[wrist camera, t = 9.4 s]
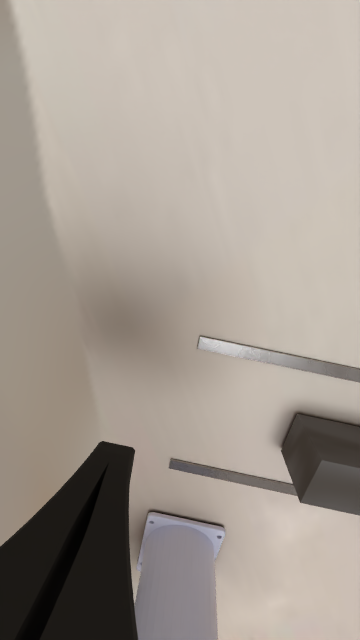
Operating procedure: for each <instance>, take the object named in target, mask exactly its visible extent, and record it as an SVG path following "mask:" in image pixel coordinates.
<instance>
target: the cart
mask: <svg viewBox="0 0 360 640" xmlns="http://www.w3.org/2000/svg"><path fill="white" fill-rule="evenodd" d="M281 452H282V455H283V457H284V460H285V463H286V465H287V468H288V471H289V474H290V476H291V479H292V482H293V484H294V487H295V490H296V493H297V495H298V498H299V501H300V503H304V504H309V505H314V506H318V507H323V508H327V509H332V510H337V511H341V512H346V513H351V514H355V515H360V427H358V426H353V425H348V424H343V423H339V422H334V421H329V420H324V419H320V418H315V417H310V416H305V415H301V414H297V415H296V417H295V420H294V422H293V424H292V427H291V429H290V431H289V434H288V436H287V438H286V441H285V443H284V445H283V448H282V450H281Z"/></svg>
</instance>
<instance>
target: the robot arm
mask: <svg viewBox="0 0 360 640" xmlns="http://www.w3.org/2000/svg"><path fill="white" fill-rule="evenodd" d="M134 454H135V450H134V448H132V447H128V446H123V445H118V444H114V443H109V442H104V441H102V442H100V443H99V444H98V445H97V447H96V448H95V449H94V451H93V452H92V453H91V454H90V456H89V457H88V458H87V459H86V461H85V462H84V463H83V464H82V465H81V466H80V468H79V469H78V470H77V471H76V472H75V473H74V475H73V476H72V477H71V478H70V479H69V480H68V481H67V482H66V483H65V484H64V485H63V486H62V488H61V489H60V490H59V491H58V492H57V493H56V494H55V495H54V496H53V497H52V498H51V499H50V500H49V501H48V502H47V503H46V504H45V505H44V506H43V507H42V508H41V509H40V510H39V511H38V512H37V513H36V514H35V515H34V516H33V517H32V518H31V519H30V520H29V521H28V522H27V523H26V524H25V525H24V526H23V527H22V528H20V529H19V530H18V531H17V532H16V533H15V534H14V535H13V536H12V537H11V538H9V540H7V541H6V542H5V543H4V544H3V545H2V546H1V547H0V640H218V629H217V605H216V581H215V560H216V557H217V555H218V552H219V549H220V547H221V544H222V542H223V539H224V537H225V529H224V528H223V527H220V526H216V525H211V524H206V523H202V522H197V521H193V520H188V519H183V518H179V517H174V516H170V515H165V514H160V513H156V512H150V513H149V514H148V517H147V521H146V526H145V531H144V535H143V540H142V544H141V549H140V554H139V558H138V563H137V570H138V571H140V572H141V573H140V579H139V585H138V590H137V596H136V601H135V607H134V600H133V589H132V578H131V565H130V548H129V484H130V478H131V472H132V466H133V460H134Z"/></svg>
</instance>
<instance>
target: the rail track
mask: <svg viewBox="0 0 360 640" xmlns="http://www.w3.org/2000/svg"><path fill="white" fill-rule="evenodd" d="M197 349H202V350H206V351H211V352H216V353H221V354H226V355H230V356H235V357H240V358H245V359H250V360H254V361H259V362H264V363H269V364H274V365H278V366H283V367H288V368H293V369H298V370H302V371H307V372H312V373H317V374H322V375H326V376H331V377H336V378H341V379H345V380H350V381H355V382H360V369H358V368H353V367H348V366H343V365H338V364H333V363H329V362H324V361H319V360H314V359H309V358H305V357H300V356H295V355H290V354H285V353H281V352H276V351H271V350H266V349H261V348H256V347H252V346H247V345H242V344H237V343H232V342H228V341H223V340H218V339H213V338H208V337H204V336H200V339H199V343H198V348H197ZM169 468H170V469H174V470H179V471H184V472H188V473H193V474H198V475H202V476H207V477H211V478H216V479H221V480H225V481H230V482H235V483H239V484H244V485H249V486H253V487H258V488H263V489H267V490H272V491H277V492H281V493H286V494H291V495H295V496H298V495H297V493H296V490H295V487H294V485H292V484H287V483H283V482H278V481H273V480H269V479H264V478H259V477H255V476H250V475H245V474H241V473H236V472H231V471H227V470H222V469H217V468H213V467H208V466H203V465H199V464H194V463H189V462H185V461H180V460H175V459H171V461H170V466H169Z"/></svg>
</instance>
